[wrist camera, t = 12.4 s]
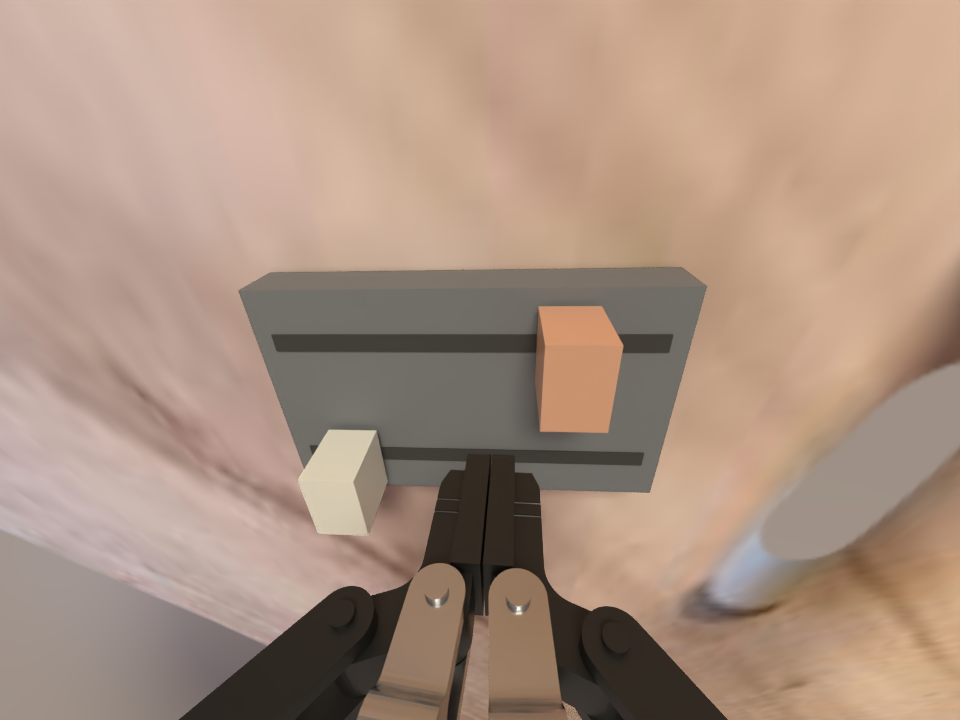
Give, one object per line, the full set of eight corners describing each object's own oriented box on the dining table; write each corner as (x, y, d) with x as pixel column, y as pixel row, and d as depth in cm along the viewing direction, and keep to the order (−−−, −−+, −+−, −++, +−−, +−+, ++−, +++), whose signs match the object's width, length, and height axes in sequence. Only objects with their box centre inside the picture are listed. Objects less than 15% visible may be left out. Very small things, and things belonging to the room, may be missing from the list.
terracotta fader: (601, 306, 18) (623, 345, 15) (591, 382, 20) (608, 432, 17) (538, 306, 18) (544, 345, 15) (534, 382, 21) (539, 431, 17)
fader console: (682, 267, 20) (707, 286, 18) (636, 459, 27) (650, 494, 25) (270, 272, 22) (236, 291, 19) (327, 451, 29) (308, 483, 26)
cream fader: (376, 430, 23) (353, 481, 20) (387, 481, 25) (368, 535, 22) (328, 429, 23) (297, 480, 20) (344, 480, 26) (318, 533, 22)
